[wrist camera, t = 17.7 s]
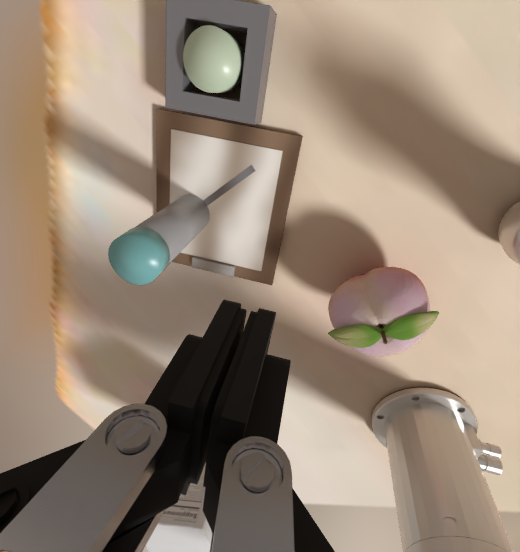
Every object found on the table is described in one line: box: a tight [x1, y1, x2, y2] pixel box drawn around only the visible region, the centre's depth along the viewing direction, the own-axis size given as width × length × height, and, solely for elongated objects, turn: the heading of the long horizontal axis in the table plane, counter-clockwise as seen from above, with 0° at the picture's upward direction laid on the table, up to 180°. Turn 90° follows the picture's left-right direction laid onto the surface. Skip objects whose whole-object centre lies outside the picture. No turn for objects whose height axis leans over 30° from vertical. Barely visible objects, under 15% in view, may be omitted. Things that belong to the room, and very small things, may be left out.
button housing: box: [165, 0, 277, 125], centre depth 28 cm, size 8×8×3 cm
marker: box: [108, 195, 210, 285], centre depth 30 cm, size 4×4×12 cm
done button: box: [183, 25, 244, 93], centre depth 27 cm, size 4×4×2 cm
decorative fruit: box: [328, 267, 439, 356], centre depth 32 cm, size 9×8×10 cm
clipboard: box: [157, 109, 302, 285], centre depth 35 cm, size 14×16×1 cm
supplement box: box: [146, 462, 212, 552], centre depth 45 cm, size 10×9×17 cm
